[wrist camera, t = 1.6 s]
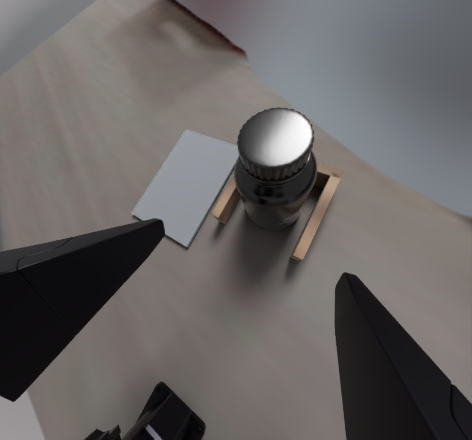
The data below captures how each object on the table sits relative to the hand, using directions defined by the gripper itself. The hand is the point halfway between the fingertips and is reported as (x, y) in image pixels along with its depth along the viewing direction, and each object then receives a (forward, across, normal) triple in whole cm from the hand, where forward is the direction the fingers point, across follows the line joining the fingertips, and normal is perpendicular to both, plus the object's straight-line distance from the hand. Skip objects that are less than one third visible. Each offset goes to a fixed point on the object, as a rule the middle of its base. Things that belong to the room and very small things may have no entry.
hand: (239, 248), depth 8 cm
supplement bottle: (+14, 0, +4) cm, 15 cm away
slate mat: (+15, +13, +4) cm, 20 cm away
